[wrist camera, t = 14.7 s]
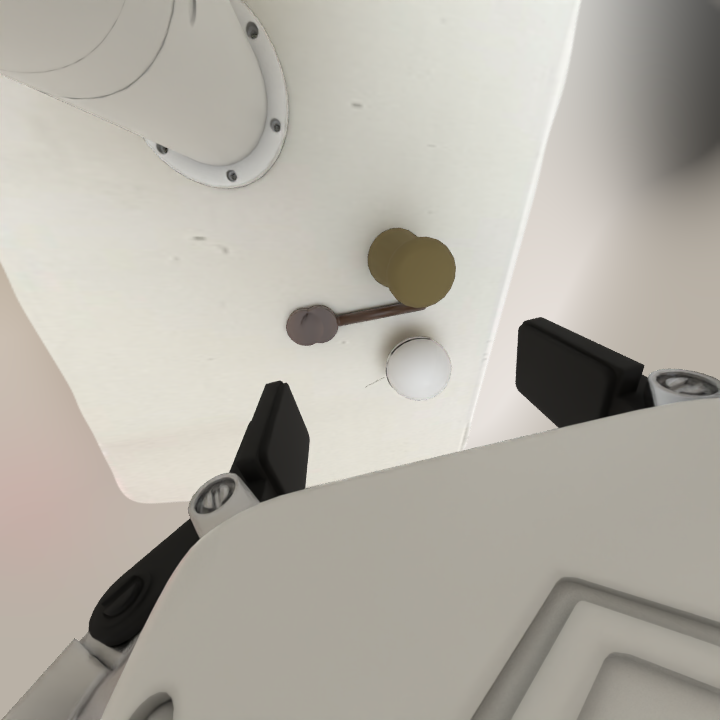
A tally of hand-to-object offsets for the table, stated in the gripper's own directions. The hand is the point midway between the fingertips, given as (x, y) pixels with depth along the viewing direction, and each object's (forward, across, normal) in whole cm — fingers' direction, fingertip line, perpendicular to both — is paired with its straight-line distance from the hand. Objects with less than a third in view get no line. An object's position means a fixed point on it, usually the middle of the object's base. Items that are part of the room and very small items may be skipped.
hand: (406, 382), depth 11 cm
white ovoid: (+22, -3, +10) cm, 24 cm away
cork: (+22, -4, -1) cm, 22 cm away
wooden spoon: (+21, +1, +4) cm, 22 cm away
